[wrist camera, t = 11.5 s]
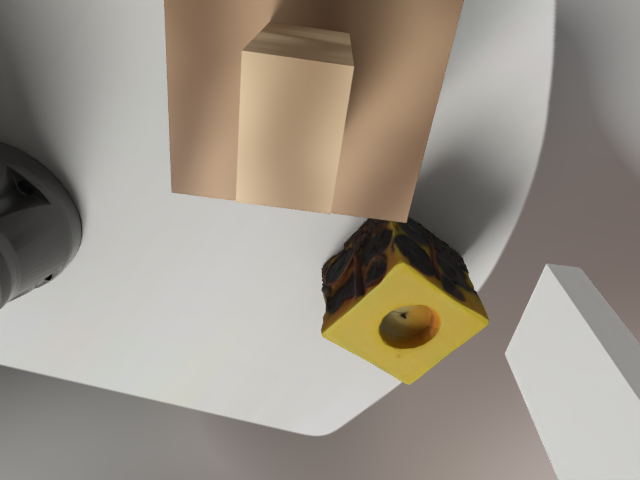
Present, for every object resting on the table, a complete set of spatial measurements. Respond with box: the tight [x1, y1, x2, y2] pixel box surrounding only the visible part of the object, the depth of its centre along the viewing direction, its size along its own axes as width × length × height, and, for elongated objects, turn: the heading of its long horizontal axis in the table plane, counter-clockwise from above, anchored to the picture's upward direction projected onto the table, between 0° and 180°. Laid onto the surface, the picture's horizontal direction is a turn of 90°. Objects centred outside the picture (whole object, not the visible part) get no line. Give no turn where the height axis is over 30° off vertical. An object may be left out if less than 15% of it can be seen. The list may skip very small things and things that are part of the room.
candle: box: [321, 217, 489, 385], centre depth 43 cm, size 10×10×10 cm
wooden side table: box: [164, 0, 464, 223], centre depth 27 cm, size 14×14×21 cm
